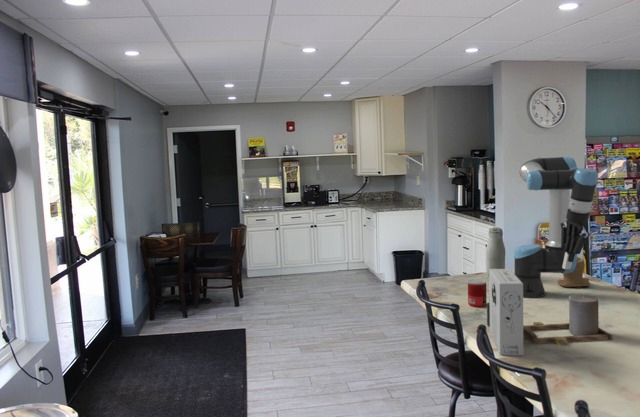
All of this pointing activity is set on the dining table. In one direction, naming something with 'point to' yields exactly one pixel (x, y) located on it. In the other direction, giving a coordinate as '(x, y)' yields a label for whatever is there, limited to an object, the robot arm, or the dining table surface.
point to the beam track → (560, 340)
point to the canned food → (477, 293)
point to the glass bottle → (495, 250)
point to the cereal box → (506, 311)
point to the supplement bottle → (488, 313)
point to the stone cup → (575, 276)
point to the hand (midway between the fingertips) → (566, 268)
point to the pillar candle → (583, 315)
